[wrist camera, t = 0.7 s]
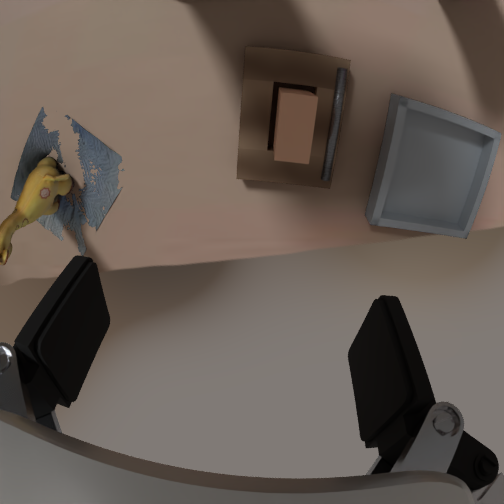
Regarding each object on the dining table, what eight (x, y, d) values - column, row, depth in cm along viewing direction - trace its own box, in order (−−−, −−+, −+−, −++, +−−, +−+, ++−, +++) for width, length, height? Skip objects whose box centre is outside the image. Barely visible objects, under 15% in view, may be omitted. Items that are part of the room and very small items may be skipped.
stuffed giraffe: (11, 197, 36) (-52, 256, 23) (49, 97, 29) (-40, 133, 15) (84, 253, 42) (37, 330, 29) (139, 163, 35) (78, 231, 22)
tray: (391, 93, 27) (400, 96, 25) (490, 128, 27) (501, 133, 25) (364, 214, 36) (370, 224, 33) (458, 228, 36) (466, 238, 33)
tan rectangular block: (278, 86, 28) (281, 92, 22) (307, 90, 28) (318, 97, 22) (273, 140, 31) (274, 160, 26) (301, 143, 31) (308, 164, 26)
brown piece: (246, 47, 26) (245, 46, 24) (345, 60, 26) (351, 60, 23) (238, 172, 34) (236, 180, 32) (326, 181, 34) (330, 190, 32)
